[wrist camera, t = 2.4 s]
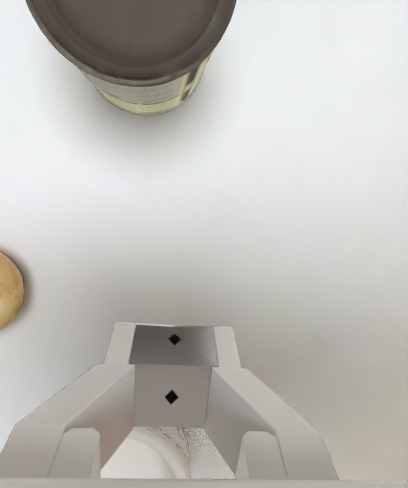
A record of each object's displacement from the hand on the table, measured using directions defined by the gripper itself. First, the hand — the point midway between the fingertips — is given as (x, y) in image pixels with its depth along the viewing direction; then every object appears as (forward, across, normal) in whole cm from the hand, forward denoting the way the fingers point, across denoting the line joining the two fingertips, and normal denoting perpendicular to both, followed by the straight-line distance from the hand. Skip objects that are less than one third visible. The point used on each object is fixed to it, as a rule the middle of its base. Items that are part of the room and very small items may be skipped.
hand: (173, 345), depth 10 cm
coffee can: (+27, +4, -9) cm, 29 cm away
